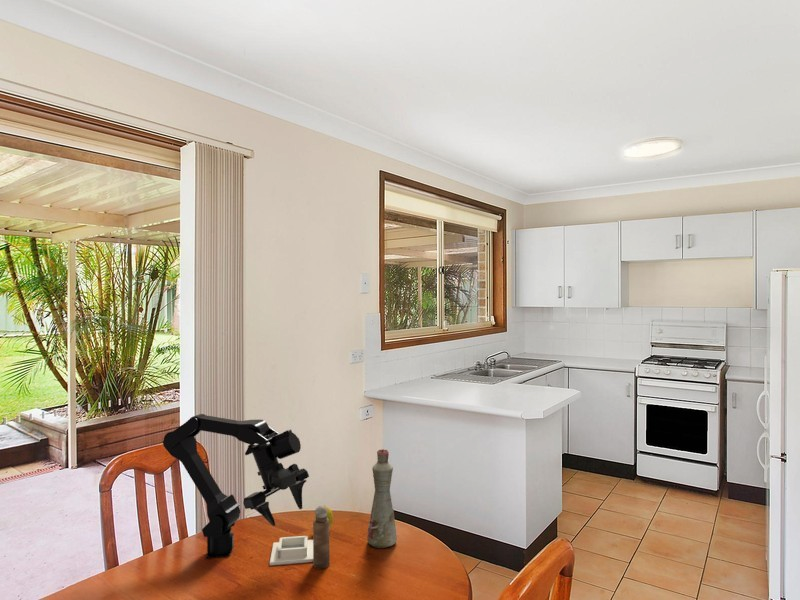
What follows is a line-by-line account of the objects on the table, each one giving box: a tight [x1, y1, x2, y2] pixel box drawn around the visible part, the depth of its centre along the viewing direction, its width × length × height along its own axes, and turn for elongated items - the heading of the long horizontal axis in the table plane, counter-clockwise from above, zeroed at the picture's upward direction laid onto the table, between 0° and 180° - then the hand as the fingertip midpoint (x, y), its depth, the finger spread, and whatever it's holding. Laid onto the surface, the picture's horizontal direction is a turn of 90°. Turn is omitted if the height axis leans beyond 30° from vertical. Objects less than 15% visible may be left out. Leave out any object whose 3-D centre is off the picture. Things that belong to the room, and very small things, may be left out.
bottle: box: [366, 449, 398, 549], centre depth 155 cm, size 9×9×28 cm
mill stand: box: [269, 535, 313, 566], centre depth 149 cm, size 12×12×3 cm
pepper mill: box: [312, 505, 331, 570], centre depth 143 cm, size 4×4×16 cm
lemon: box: [314, 505, 334, 529], centre depth 164 cm, size 6×6×8 cm
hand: (287, 517), depth 145 cm, fingers open, 9 cm apart
